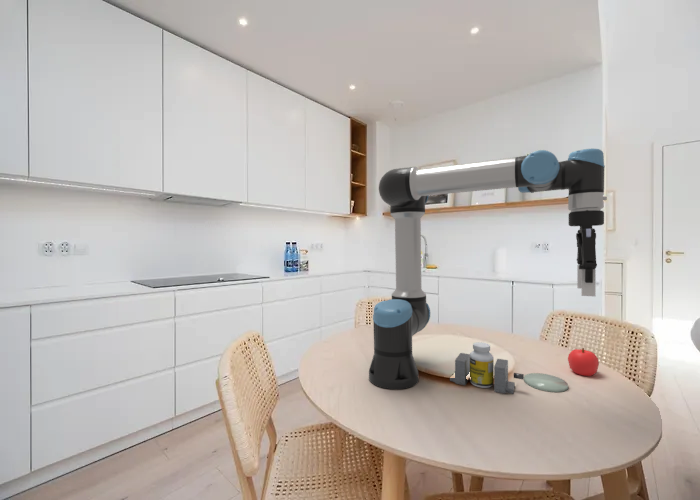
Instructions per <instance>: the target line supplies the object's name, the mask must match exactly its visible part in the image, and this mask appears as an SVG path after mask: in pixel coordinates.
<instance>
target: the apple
mask: <svg viewBox="0 0 700 500" xmlns="http://www.w3.org/2000/svg"><path fill="white" fill-rule="evenodd" d="M567 356H568V357H567V361H568V362H567V363H568V364H569V365H568V366H569V369H571V370H572V371H573V372H574V373H575V374H576V375H579V376H584V377H591V376H594V375H595V374H596V373H598V368H599V364H600V362H599V358H598V357H597V355H596V354H595V353H594V352H593V351H591V350H586V349H585V347H582V348H581V349H579V348H575V349H573V350H571V351H570V352H569V354H568V355H567Z"/></svg>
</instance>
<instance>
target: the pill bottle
mask: <svg viewBox="0 0 700 500" xmlns="http://www.w3.org/2000/svg"><path fill="white" fill-rule="evenodd" d="M472 349H473V350H472V351H471V352H470V353H469V354H470V377H471V380H470V379H469V382H470V383H471V385H472V386H474V387H478V388H481V389H487V388H488V389H489V388H492V387H494V366H495V363H494V355H493V354H492V353H491V352H490V351H491V345H490V344H489V343H488V342H487V343H486V342H482V341H481V342H480V341H479V342H473V344H472Z"/></svg>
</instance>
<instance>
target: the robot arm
mask: <svg viewBox="0 0 700 500" xmlns="http://www.w3.org/2000/svg"><path fill="white" fill-rule="evenodd" d="M605 166H606V165H605V160H604V152H603V150H602V149H600V148H585V149H580V150H575V151H572V152H570V153H569V155H568V158H567V160H563V161H559V160H558V158H557V156H556V155H555V154H554V153H553V152H552V151H548V150H545V149H540V150H538V149H537V150H535V151H532V152H530V153H529V154H528V155H527V154H526V155H522V156H521V155H520V156H513V157H506V158H500V159H499V158H498V159H490V160H485V161H484V160H483V161H476V162H468V163H461V164H455V165H454V164H453V165H445V166H439V167H429V168H421V169H419V168H418V167H417V166H410V167H402V168H401V167H399V168H393V169H391V170H389V171H386V172H385V174H384V175H383V176H382V177H381V179H380V180H379V183H378V194H379V197H380V198H381V200H382V201H383V202H384V203H385V204H387V205H388V206H389V207H390V209H389V213H390V216H391V217H392V218H393V219H394V239H395V240H394V245H395V248H394V249H395V251H394V252H395V253H394V254H395V290H393V292H392V293H391V299H387V300H382V301H379V302H378V303H376V304H375V305H374V307H373V314H372V320H373V323H372V324H373V349H374V351H373V356H372V359H371V362H370V366H369V368H368V380H369V382H370V383H371V384H373V385H374V386H377V387H380V388H383V389H387V390H403V389H408V388H411V387H414V386H415V385H417V384H418V382H419V370H418V366H417V364H416V361H415V357H414V355H413V354H414V353H413V337H414V336H415V335H416V334H417V333H420V332H421V331H422V330H423V329H424V328H426V326H427V324H428V323H429V321H430V319H431V309H430V306H429V304H428V303H427V294H426V292H424V290H423V288H422V237H421V235H422V232H421V231H422V228H421V225H422V224H421V223H422V222H421V221H422V220H421V219H422V217H423V216H424V215H425V214H426V203H427V202H428V199H429V196H435V195H436V196H437V195H448V194H458V193H470V192H479V191H480V192H481V191H490V190H502V189H513V188H518V191H519V192H520V193H521V194H522V193H525V194H526V193H531V194H533V193H538V192H539V193H540V192H550V191H560V190H561V191H564V190H568V196H567V197H568V199H567V201H568V203H567V204H568V206H567V210H568V211H570V212H569V213H568V226H570V227H579V229H578V230H577V233H576V235H575V238H576V247H577V256H576V263H577V268H576V269H577V270H576V271H577V273H576V274H577V281H576V283H577V289H581V296H582V297H596V278H597V277H596V275H597V274H596V271H597V270H596V268H597V267H598V264H597V253H596V251H597V248H596V239H597V233H596V229H595V228H593V227H595V226H603V225H604V224H605V212H604V210H602V209H604V208H605V207H604V206H605V202H604V201H607V199H608V198H607V196H604V194H605V193H604V192H605Z"/></svg>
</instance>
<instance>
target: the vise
mask: <svg viewBox="0 0 700 500" xmlns="http://www.w3.org/2000/svg"><path fill="white" fill-rule="evenodd" d="M454 371H455V378H450V377H449V381H450V382H453V383H455V385H460V386H466V385H467V383H468V381H469V380H467V379H466V376H467V375H468V374H469V372H470V353H464V352H460V353H459V354H458V356H457V357H456V358H455V360H454ZM524 376H525V375H524V374H523V373H517V372H513V379H518V380H522V381H524ZM515 387H516V386H515V382H514V381H509V360H508V359H503V358H497V359H496V361H495V363H494V373H493V390H494V391H493V392H494V393H495V392H496V393H500V394H504V395H505V394H506V393H509V394H514V391H515Z"/></svg>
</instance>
